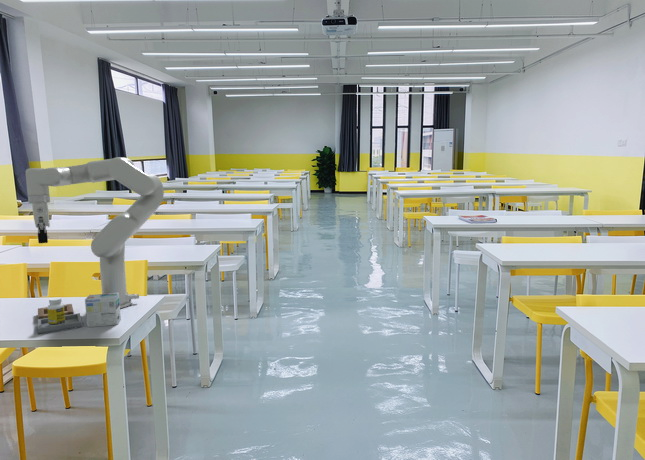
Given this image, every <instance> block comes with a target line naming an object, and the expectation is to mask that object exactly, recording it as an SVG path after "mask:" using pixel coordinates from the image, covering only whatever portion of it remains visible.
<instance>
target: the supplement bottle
mask: <svg viewBox="0 0 645 460" xmlns="http://www.w3.org/2000/svg"><path fill="white" fill-rule="evenodd" d="M48 303H49V304H48V305H47V310H48V323H49V326H54V325H61V324H65V312H64V305H65V304H64V303H62V297H59V296H57V297H51V298H49V299H48Z"/></svg>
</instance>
